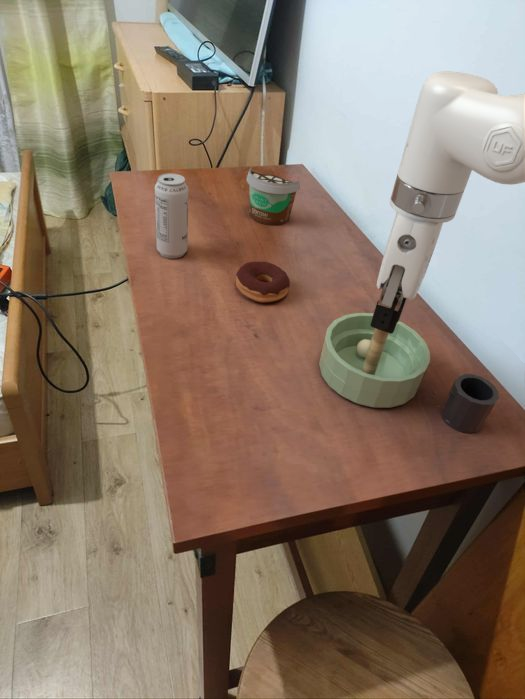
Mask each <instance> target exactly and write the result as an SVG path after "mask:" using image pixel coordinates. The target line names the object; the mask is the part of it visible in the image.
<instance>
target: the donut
mask: <svg viewBox="0 0 525 699" xmlns="http://www.w3.org/2000/svg"><path fill="white" fill-rule="evenodd" d="M235 276H236V277H235V278H236V279H235V285H236V288H237V289H238V290H239V292H240V293H241V294H242V295H243V296H245V297H246V298H247V299H250V300H252V301H254V302H257V303H262V304H263V303H272V302H277V301H279V300H281V299H283V298H284V297H285V296H287V294H288V293H289V289H290V286H291V281H290V277H289V275H288V274H287V272H286V271H285V270H284V269H282V268H281V267H280V266H278V265H276V264H274V263H271V262H268V261H263V260H260V261H249V262H246V263H244V264H243V265H241V266H240V267H239V269H238V270H237V272H236V274H235Z"/></svg>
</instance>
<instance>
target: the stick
mask: <svg viewBox="0 0 525 699" xmlns="http://www.w3.org/2000/svg"><path fill="white" fill-rule="evenodd" d="M395 297H397V298H398V297H399V295H397V294H396V296H395ZM388 334H389V333H387V332H384V331H382V330H379V329H376V328H375V330H374V333H373V336H372V339H371V343H370V346H369V349H368V352H367V355H366V359H365V362H364V365H363V368H362V371H363V372H365V373H367V374H371V375H375V373H376V370H377V367H378V364H379V361H380V358H381V355H382V352H383V349H384V346H385V343H386V340H387V337H388Z"/></svg>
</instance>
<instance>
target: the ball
mask: <svg viewBox="0 0 525 699" xmlns="http://www.w3.org/2000/svg"><path fill="white" fill-rule="evenodd" d="M370 343H371V340H368V339H364V340H361V341H360V342H359V343H358V344H357V348H356V350H357V353H358V355H359V356H361V357H363V358H366V355H367V352H368V349H369V346H370Z"/></svg>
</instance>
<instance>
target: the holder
mask: <svg viewBox="0 0 525 699" xmlns="http://www.w3.org/2000/svg"><path fill="white" fill-rule="evenodd" d="M499 399H500V393H499V390H498V388H497V387H496V386H495V385H494V384H493V383H492V382H491V381H490V380H489V379H487V378H485V377H484V376H481V375H478V374H475V373H463V374H460V375H457V377H456V378H455V379H454V382H453V383H452V385H451V388H450V390H449V392H448V394H447V396H446V397H445V399H444V402H443V404H442V406H441V408H440V415H441V417H442V418H441V419H443V421H444V422H445V424H447V425H448V426H449V427H450V428H451V429H452V430H453V429H454V430H455V431H456V432H457V431H458V432H460V433H464V434H474V433H477V432H479V431H480V430H481V429H482V428H483V426H484V425H485V423H486V421H487V420H488V418H489V416H490V415H491V413H492V411H493V409H494V408H495V406H496V404H497V403H498V401H499Z"/></svg>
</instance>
